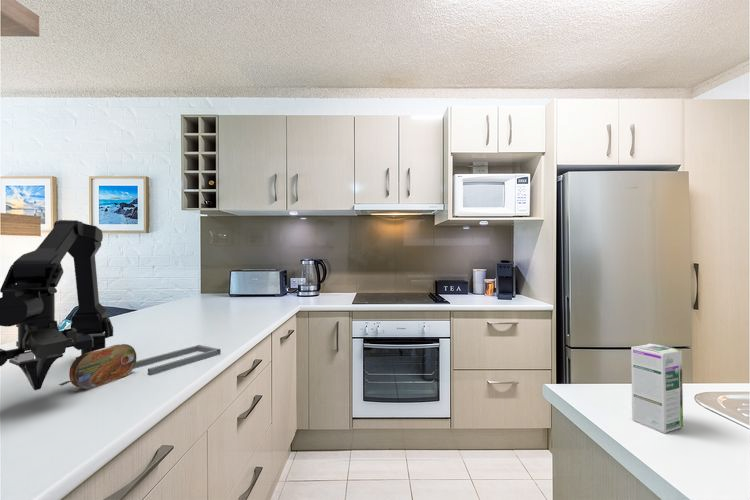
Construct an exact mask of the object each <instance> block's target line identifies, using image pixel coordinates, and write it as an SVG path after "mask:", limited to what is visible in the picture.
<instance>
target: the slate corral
mask: <svg viewBox="0 0 750 500" xmlns="http://www.w3.org/2000/svg"><path fill="white" fill-rule="evenodd" d="M196 352H201V353H199V354H198V353H197V354H195V355H191V356H188V357H184V358H180V359H177V360H173V361H170V362H168V363H167V362H166V363H163V364H160V365H155V366H152V367H149V368H147V375H149V376H153V375H156V374H158V373H159V374H160V373H162V372H165V371H170V370H172V369H175V368H179V367H182V366H186V365H188V364H189V365H190V364H192V363H195V362H198V361H201V360H205V359H208V358H211V357H215V356H220V355H221V348H216V347H211V346H206V345H202V344H197V345H194V346H189V347H185V348H181V349H178V350H174V351H170V352H166V353H163V354H162V353H161V354H159V355H154V356H150V357H146V358H144V359H140V360H136V363H135V366H134V368H133V369H132V370H134V369H137V368H140V367H145V366H148V365H151V364H155V363H159V362H162V361H166V360H170V359H174V358H178V357H181V356H184V355H188V354H192V353H196Z"/></svg>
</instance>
